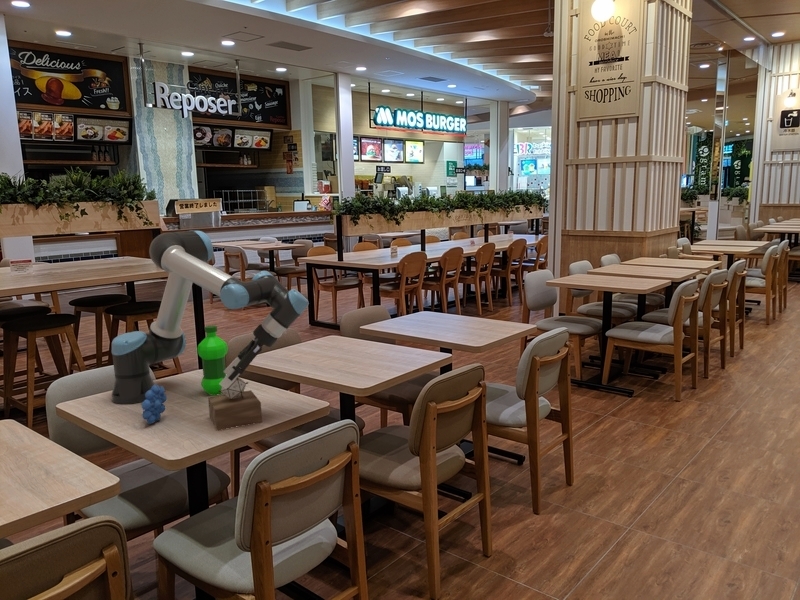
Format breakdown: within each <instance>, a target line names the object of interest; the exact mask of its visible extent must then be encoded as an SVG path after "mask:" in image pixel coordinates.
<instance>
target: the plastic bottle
mask: <svg viewBox="0 0 800 600" xmlns="http://www.w3.org/2000/svg"><path fill="white" fill-rule="evenodd" d="M217 332H218V326H217V325H206V326H204V333H206V336H205V337H204V338H203V339H202V340H201V342H199V344H198V345H197V354H198V356H199V357H200V358H201V362H202V372H203V373H202V374H203V378H202V380H201V382H200V383H201V385H200V386H201V388H202V390H204V391H205V392H206V393H207V394H208V395H210V396H218V395H217V394H220V395H222V394H223V393H222V392H218V391H220V390H221V387H222V386H221V385H220V384H219V383H220V382H221V381H222V380H223V379H224V378H223V377H226V376H227V374H225V373H224V370H225V369H226V368H227V367H226V356H227V354H228V351H229V348H228V345H227V342H225V340H223V339H222V338H221V337H219V336H217ZM221 393H222V394H221Z"/></svg>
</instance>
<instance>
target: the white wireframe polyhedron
mask: <svg viewBox="0 0 800 600" xmlns="http://www.w3.org/2000/svg"><path fill="white" fill-rule="evenodd" d="M223 378H225V377H223ZM247 384H248V385H249V382H246V381H244V380H243V379H242V378H240V377H239V376H238V377H237V378H236V379H235V380H234V381H233V382H232V384H231V385H230V386H229V387H228V388H227V389H225V388H223V387H221V390H220V391H218V392H222V395H225V396H227V397H228V398H229V399H230V402H231V399H234V398H238V397H241V396H242V395H243V392H244V391H245V388H246V385H247ZM242 398H244V397H243V396H242Z"/></svg>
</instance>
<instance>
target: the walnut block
mask: <svg viewBox="0 0 800 600" xmlns="http://www.w3.org/2000/svg"><path fill="white" fill-rule="evenodd" d="M242 396H243V397H244V398H242ZM242 396H241V397H238V398H234V399H231V402H230V399H229V398H228V397H227V396H225V395H224V394H220V395H212V396H209V397H207V401H208V411H209V418H210V420H211V422H212V424H213V426H214V428H215V430H216V431H217V430H218V431H222V430H221V429H223V430H227V429H226V428H229V429H232V428H231V427H234V428H237V427H236V426H239V427H242V425H245V426H249V425H248V424H250V425H254V424H253V423H255V424H260V423H263V417H262V402H261V401H260V399H259V398H258V397H257V396H256V394H255V393H254V392H253V391H252V390H244V392H243V395H242Z"/></svg>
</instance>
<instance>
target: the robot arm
mask: <svg viewBox="0 0 800 600" xmlns="http://www.w3.org/2000/svg"><path fill="white" fill-rule="evenodd" d="M148 252H149V257H150V260H151V261H152V263H153V264H154V265H155V266H157V267H158V268H159V269H161V270H162V271H165V272H166V273H168V277H167V281H166V284H165V288H164V291H163V296H162V299H161V303H160V307H159V309H158V314H157V317H156V320H155V321H152V322H151V324H150V327H149V330H148V332H147V333H145V332H144V331H141V330H139V331H138V330H136V331H135V330H133V331H131V332H126V333H122V334H119V335H117V336H116V337H114V338H113V339H112V342H111V355H112V363H113V370H114V371H113V372H114V383H113V387H112V391H111V401H112V402H113V403H115V404H119V405H123V404H124V405H125V404H126V405H128V404H129V405H131V404H136V403H143V401H144V400H146V397H145V394H146V392H147V391H148V390H151V388H152V386H153V385H156V384H155V382H154V379H152V376H151V373H150V372H151V371H150V366H151V365H153V364H158V363H161V362H165V361H169V360H170V361H171V360H172V359H175V358H177V357H179V356H181V355H182V354H183V352H184V351H185V348H186V346H187V345H186V344H187V340H186V335H185V332H184V331H183V328H182V327H181V324H182V323H183V322H182V320H183V317H184V314H185V311H186V308H187V307H186V306H187V303H188V301H189V297H190V294H191V291H192V286H193V284H195V285H197V286H199V287H200V288H202V289H204V290H207V291H208V292H210V293H212V294H214V295H216V296H218V297H219V298H220V301H221V303H222V304H223V306H224V307H225V308H227V309H230V310H235V309H243V308H245V307H249V306H253V305H257V304H262V303H267V304H268V305H269V306H270V307H271V308H272V310H271V311H270V312H269V313H267V316H265V318H264V319H263V320H262V321H261V323H260V324H258V325H257V326H256V328H255V329H254V330H253V332H252V334H253V336H254V338H253V339H251V341H250V342H249V343H247V345H246V346H245V347H244V348H243V349H242V350H240V351H239V353H238V355H237V356H236V357H235V359H233V360H232V362H231V363H230V364H229V365H227V367H225V368H226V369H225V370H224V373H225V374H226V377H225V378H224V379H223V380H222V381H221V382H220V383H219V384H220V385H221V386H222V387H223V388H225V389H227V388H228V387H229V386H230V385H231V384H232V382H233V381H234V380H235V379H236V378H237V377H239V376H240V375H242V374H243V373H244V372H245V370H246V369H247V368H248V367H249V365H250V364H251V363H252V362H253V361H254V359H255V358H256V357H257V356H258V355H259V353H261V351H262V350H263V346H264V345H265V347H268V348H271V347H273V346H274V345H275V344H276V342H277V341H278V338H280V337H282V335H283V334H285V335H286V334H287V330H288V329H289V328H290V327H291V325H293V323H294V322H295V321H296V320H297V319H298V318H299V317H300V316H301V315H303V313H304V311H305V310H306V309H307V308H308V307H309V304H310V303H309V300H308V299H307V298H306V297H305V295H303V294H302V293H301V292H299V291H298V289H295V288H292V289H290V290H288V288H286V287H285V286H284V285H283V284H282V283H281V282H280V281H279V280H278V278H277V277H276V276H274V275H273V274H271V272H269V271H268V270H261V271H260V272H258V273H256V274H255V275H254V276H253V277H252V278H251V280H248V281H242V280H240V279H238V278H236V277H235V276H232V275H230V274H228V273H227V272H224V271H222V270H221V269H218V268H217V267H215V266H213V265H211V264H209V263H208V262H210V261H211V260H212V258H213V256H214V246H213V243H212V240H211V239H210V237H209V235H207V233H205V232H204V231H202V230H192V229H190V230H187V231H183V230H182V231H174V232H162V233H161V234H158V235H157V236H156V237H155V238H153V240H151V243H150V246H149V251H148Z"/></svg>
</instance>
